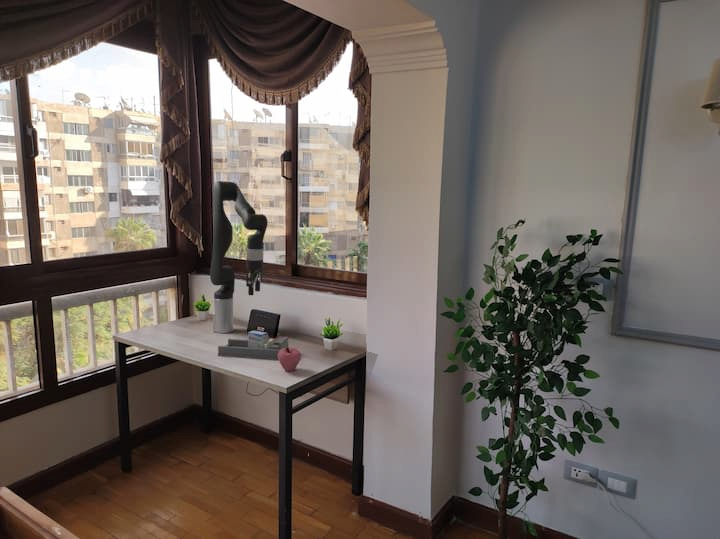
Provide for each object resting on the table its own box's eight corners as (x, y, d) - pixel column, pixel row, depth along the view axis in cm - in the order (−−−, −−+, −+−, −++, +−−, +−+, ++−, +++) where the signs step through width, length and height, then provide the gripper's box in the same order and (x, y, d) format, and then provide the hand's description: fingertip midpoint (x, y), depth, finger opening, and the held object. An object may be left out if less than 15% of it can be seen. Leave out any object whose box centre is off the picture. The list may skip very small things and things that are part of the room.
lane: (218, 355, 230) (217, 340, 229) (229, 347, 243) (229, 332, 242) (280, 359, 227) (280, 344, 225) (288, 350, 239) (288, 335, 238)
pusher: (264, 354, 229) (264, 344, 229) (270, 348, 238) (270, 338, 238) (275, 355, 229) (275, 345, 228) (281, 349, 238) (281, 339, 237)
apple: (303, 372, 212) (303, 348, 211) (282, 375, 208) (282, 350, 207) (294, 365, 220) (295, 341, 219) (274, 367, 217) (274, 344, 215)
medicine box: (247, 351, 234) (247, 332, 233) (253, 348, 238) (253, 329, 237) (262, 353, 231) (262, 334, 230) (268, 351, 235) (268, 332, 234)
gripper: (252, 255, 247) (251, 289, 250) (241, 260, 234) (240, 295, 236) (268, 256, 246) (267, 290, 249) (257, 261, 232) (256, 297, 235)
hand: (254, 293), depth 243 cm, fingers open, 8 cm apart
